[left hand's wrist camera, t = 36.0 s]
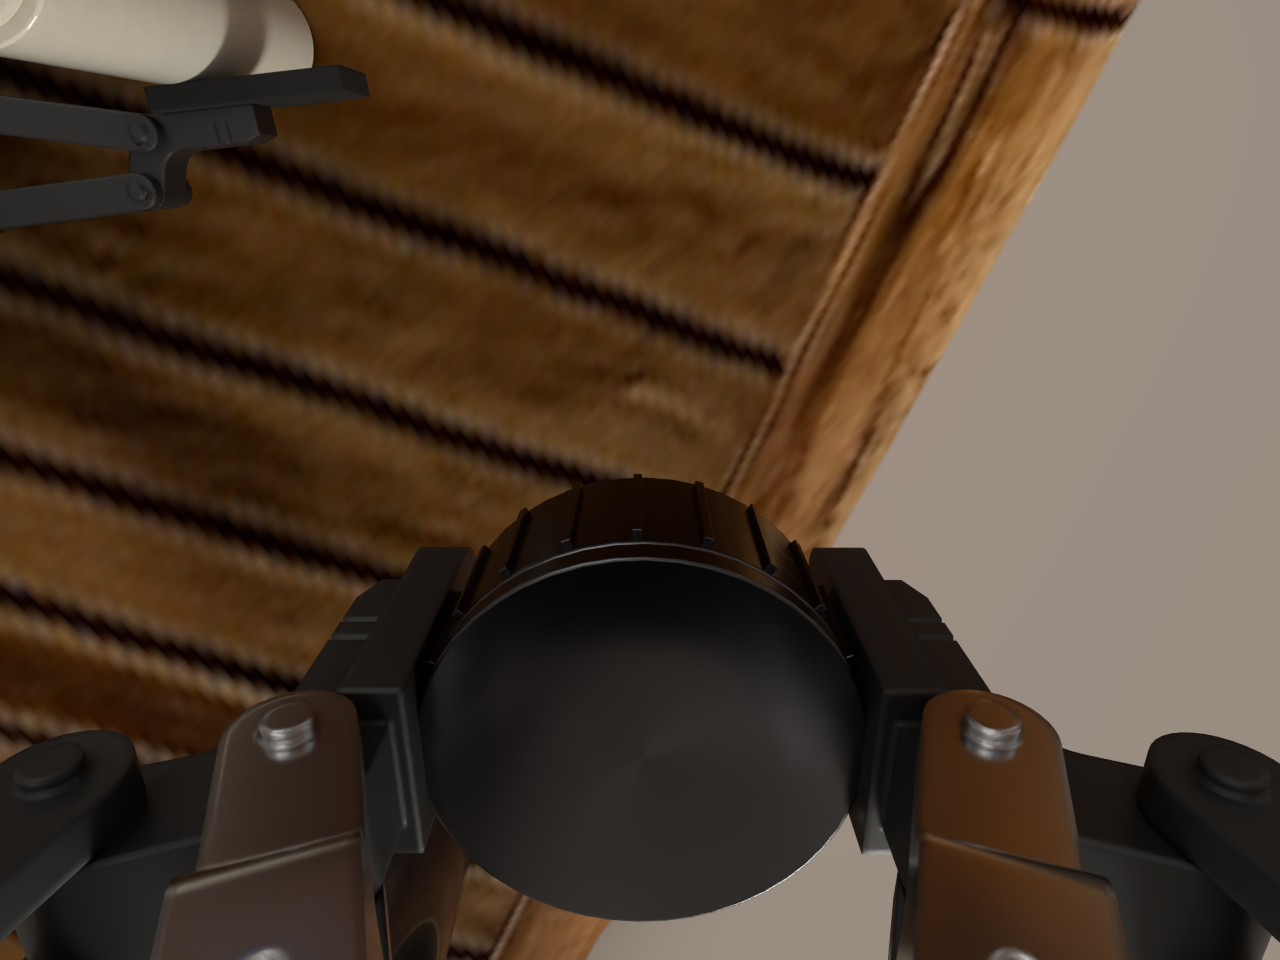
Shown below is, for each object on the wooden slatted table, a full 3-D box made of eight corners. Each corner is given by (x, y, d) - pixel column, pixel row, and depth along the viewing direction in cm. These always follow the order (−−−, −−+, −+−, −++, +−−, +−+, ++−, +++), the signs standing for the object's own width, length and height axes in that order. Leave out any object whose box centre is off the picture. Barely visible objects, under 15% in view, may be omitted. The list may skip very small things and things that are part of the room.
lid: (497, 422, 10) (457, 493, 8) (889, 528, 10) (954, 622, 8) (422, 748, 12) (373, 876, 10) (758, 823, 12) (782, 962, 10)
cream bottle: (336, 64, 32) (20, -41, 16) (255, 124, 33) (-122, 80, 17) (266, -44, 31) (-154, -275, 15) (183, 21, 32) (-298, -130, 16)
